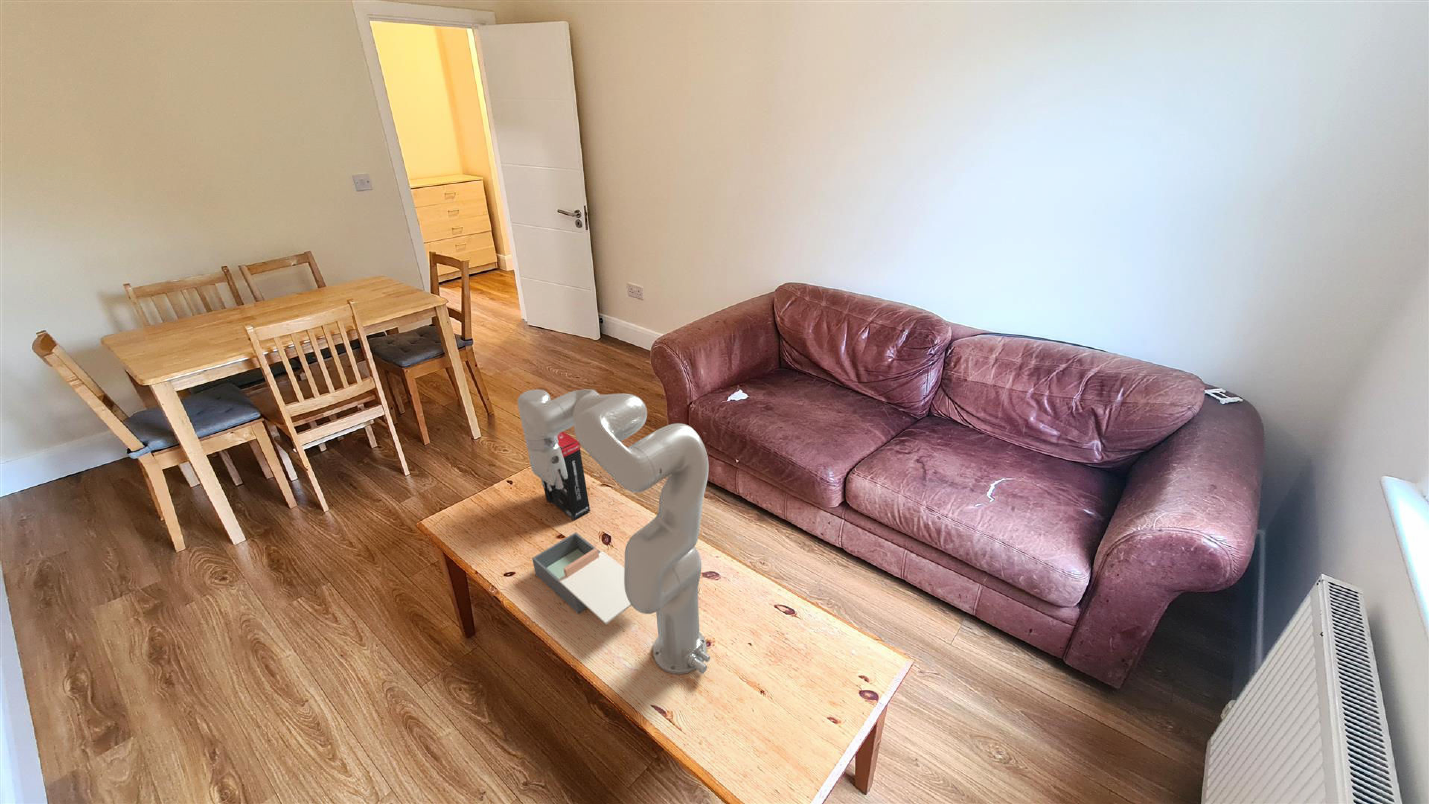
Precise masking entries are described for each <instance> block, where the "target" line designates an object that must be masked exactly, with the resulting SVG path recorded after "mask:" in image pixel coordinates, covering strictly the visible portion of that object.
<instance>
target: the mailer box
mask: <svg viewBox="0 0 1429 804" xmlns="http://www.w3.org/2000/svg"><path fill="white" fill-rule="evenodd" d="M594 548H596V547H595V546H594V545H593V544H591V542H589V541H587V540H586V538H583V537H582V536H581V535H580V534H578V533H577V532H574V533H571V535H569V536H567V537H566V538H564V539H562V540H560V541H558V542H557V543H555V544H553V545H551V546H549V548H547V549H545V550H543V551H542V552H539V553H538V554H537V555H535V556H533V557H532V565H533V567H534V568H533V569H534V573H535V576H536V577H538V578H539V579H540V580H541V581H542V582H543V583H544V584H545V585H546V586H547V587H549V589H551V590H552V591H553V592H554V593H555V594H556V595H557V596H558V597H559V598H560V599H561V600H562V601H564V602H565V603H566V604H567V605H568V606H569V607H570V608H571V609H572V610H573V611H574V612H575V613H576V614H578V615H579V614H580V613H582V612H583V611H585V610H586V609H588V608H587V607H586V606H585V605H584V604H583V603H582V602H581V601H580V600H579V599H577V598H576V597H575V596H574V595H573V594H572V593H571V592H570V591H569V590H568V589H566V588H565V587H564V586H563V585H562V584H561V583H560V582H559V581H558V579H560V578H561V577H563V576H564V575H565V574H564V569H563V568H564V567H566V566H568V565H569V564H571V563H572V562H574V561H575V560H577V559H579V558H580V557H582V556H583V555H585V554H587V553H588V552H590V551H591V550H593V549H594ZM596 549H597V550H598V553H600V552H601V550H599V549H598V548H596Z"/></svg>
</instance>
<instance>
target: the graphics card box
mask: <svg viewBox="0 0 1429 804" xmlns="http://www.w3.org/2000/svg"><path fill="white" fill-rule="evenodd" d="M557 437H558V445H559V447H560V449H561V452H562V454H563V458H564V461H565V465H566V470H567V474H568V478H567V479H564V478H562V477H561V476H560V477H561V480H562V483H563V486H564V487H563V488H561V489H559V492H560V499H558V500H556V501H555V502H553V503H552V504H553V505H554V506H555V507H557V508H558V509H559V510H560V511H562V513H564V514H566V516H567V517H569V518H570V519H571V520H573V521H576V520H577V519H580V518H581V517H583V516H585V515H586V514H588V513H590V511H591V507H590V502H589V496H588V491H587V490H588V489H587V484H586V478H585V472H584V470H585V469H584V466H583V459H582V453H581V444H580V443H579V441H578V440H577V438H576V439H575V438H574V437H573V436H571V435H570V434H568V433H567V432H565V431H563V432H561V433H559V434H557ZM554 483H555V482H554ZM544 489H545V488H544V487H543V490H544Z"/></svg>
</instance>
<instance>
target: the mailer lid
mask: <svg viewBox="0 0 1429 804" xmlns="http://www.w3.org/2000/svg"><path fill="white" fill-rule="evenodd" d="M597 549H598V548H597V547H595V548H594V549H593V550H591V551H590V552H588V553H587V554H585V555H583V556H582V557H580V558H579V559H577V560H575V561H574V562H572V563H571V564H569V565H568V566H566V567H564V568H563V569H564V574H565V575H564V576H563V577H561V578H560V579H558V581H559V582H560V583H561V584H562V585H563V586H564V587H565V588H566V589H568V590H569V591H570V592H571V593H572V594H573V595H574V596H575V597H576V598H577V599H579V600H580V601H581V602H582V603H583V604H584V605H585V606H586V607H587V608H586V609H589V610H590V611H591V612H592V613H593V614H594V615H595V616H596V617H598V619H599V620H601V621H602V622H603V623H604V624H605V625H607V624H609V623H610V622H612V621H613V620H614V619H615V618H617V617H618V616H620V615H621V614H622V613H624V612H625V611H626V610H628V609H629V608H630V607H633V606H632V605H631V604H630V602H629V600H628V598H627V596H626V592H625V587H624V566H622V565H621V564H620V563H619V562H617V561H616V560H615V559H613V558H612V557H611V556H610V555H608V554H607V553H606V552H604V551H603V550H602V551H600V553H598V550H599V549H598V550H597Z"/></svg>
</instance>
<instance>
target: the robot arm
mask: <svg viewBox="0 0 1429 804" xmlns="http://www.w3.org/2000/svg"><path fill="white" fill-rule="evenodd" d="M517 407H518V412H519V417H520V421H521V427H522V432H523V436H524V441H525V445H526V449H527V450H528V451H527V452H528V459H529V464H530V469H531V471H532V473H533V474H534V475H535V476H536V477H538V478H540V482H541V485H542V487H543V491H544V495H545V500H546V502H548V503H549V504H553V502H555V501H556V500H558V499H560V492H559V489H561V488H563V487H564V486H563V483H562V480H561V477H562V478H564V479H567V478H568V474H567V470H566V465H565V461H564V458H563V454H562V452H561V449H560V447H559V445H558V437H557V434H559V433H561V432H565V431H567V430H568V429H571V428H572V427H573V428H574V430H573V431H574V434H575V437H576V440H577V441H579V445H580V447H582V448H583V449H584V451H585V452H586V453H587V454H588V455H589V456H590V457H591V458H592V459H593V460H594V461H595V462H596V463H597V464H598V465H599V466H600V467H602V469H603V470H604V471H605V472H606V473H608V475H609V476H610V477H611V478H612V479H614V481H615V482H617V484H618V485H620V486H621V487H622V488H623V489H624V490H627V491H629V492H631V493H636V494H638V493H642V492H645V491H647V490H649V489H651V488H652V487H653V486H655V485H656V484H658V483H660V482H661V481H662V480H664V479H666V480H665V482H664V484H663V485H662V487H661V491H660V495H659V501H658V511H657V514H656V516H655V517H653V519H652V520H651V521H649V522H647V524H646V525H644V526H643V527H642V528H640V529H638V530H637V531H636V532H635V533H634V534H633V535H632V536H631V537H630V538H629V539H628V541H627V543H626V545H625V550H624V562H623V563H624V565H623V567H624V587H625V592H626V596H627V598H628V600H629V602H630V604H631V605H632V606H631V607H633V609H635V610H636V611H637V612H639V613H640V614H645V615H650V614H654V613H655V614H656V625H657V637H656V639H655V641H654V644H653V647H652V653H653V655H652V656H653V658H654V662H655V663H656V664H657V666H658V667H659V668H660V669H661V670H663V671H665V672H667V673H670V674H674V675H675V674H676V675H681V674H687V673H690V672H693V671H694V670H697V671H698V672H699V673H700V674H704V673H705V672H706V671H707V669H708V666H707V665H706V664H705V663H708V662H709V661H710V659H711V656H710V655H709V654H707V651H708V646H707V640H706V639H705V636H704V635H703V634H702V633H701V632H700V616H699V614H700V613H699V585H700V584H699V583H700V579H701V573H702V559H701V555H700V553H699V550H698V549H697V547H695V546H696V544H697V543H698V540H699V535H700V529H701V520H702V512H703V504H704V503H703V502H704V497H705V492H706V487H707V483H708V478H709V471H710V470H709V469H710V468H709V467H710V466H709V458H708V453H707V449H706V447H705V444H704V442H703V440H702V439H701V437H700V435H699V434H698V433H697V431H696V430H694V428H693V427H692V426H690V425H688V424H685V423H681V422H680V423H676V422H675V423H671V424H668V425H665V426H663V427H661V428H658V429H656V430H655V431H653V432H651V433H649V434H647V435H646V436H645V437H643V438H641V439H639V440H637V441H636V442H634V443H632V444H631V445H629V446H628V447H627V446H626V445H625V444H623V442H622V441H624V440H625V439H628V438H629V437H631V436H633V435H635V433H637V432H639V430H641V429H642V428H643V426H644V425H645V423H646V421H647V416H648V409H647V406H646V403H644V401H643V399H641V398H640V397H639V396H637V395H634V394H631V393H624V392H623V393H610V394H600V393H598V392H597V391H596V390H595V389H593V388H592V389H591V388H587V389H586V388H585V389H578V390H577V389H576V390H573V391H570V392H568V393H565V394H562V395H561V396H558V397H556V398H553V399H551V395H550V394H549V393H548V392H547V391H546V390H544V389H530V390H527V391H524V392H522V393H521V394H520V395H519V396H518V398H517ZM560 476H561V477H560ZM554 482H555V483H554ZM544 488H545V489H544ZM704 662H705V663H704Z"/></svg>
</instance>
